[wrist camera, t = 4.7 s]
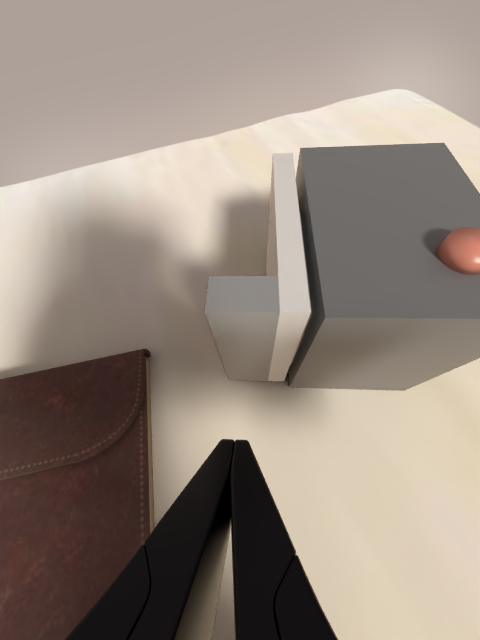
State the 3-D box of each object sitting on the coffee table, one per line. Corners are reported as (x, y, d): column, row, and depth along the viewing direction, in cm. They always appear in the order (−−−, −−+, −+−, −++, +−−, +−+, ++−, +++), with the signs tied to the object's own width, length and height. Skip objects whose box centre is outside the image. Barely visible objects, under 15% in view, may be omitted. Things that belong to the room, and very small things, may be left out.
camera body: (404, 390, 15) (592, 309, 7) (288, 387, 16) (327, 307, 7) (365, 253, 21) (442, 114, 12) (280, 254, 21) (298, 121, 13)
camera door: (283, 381, 15) (310, 311, 8) (228, 379, 16) (204, 311, 8) (278, 265, 20) (292, 153, 12) (235, 266, 20) (224, 155, 13)
